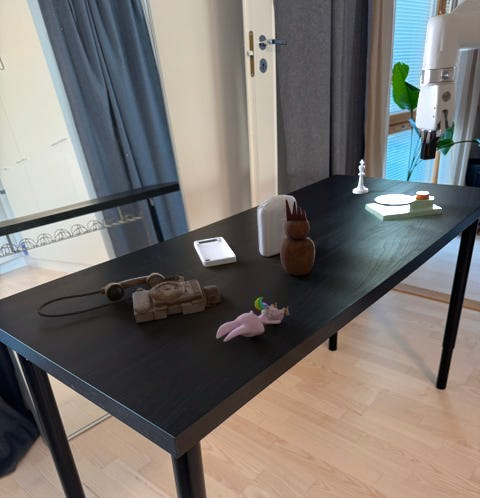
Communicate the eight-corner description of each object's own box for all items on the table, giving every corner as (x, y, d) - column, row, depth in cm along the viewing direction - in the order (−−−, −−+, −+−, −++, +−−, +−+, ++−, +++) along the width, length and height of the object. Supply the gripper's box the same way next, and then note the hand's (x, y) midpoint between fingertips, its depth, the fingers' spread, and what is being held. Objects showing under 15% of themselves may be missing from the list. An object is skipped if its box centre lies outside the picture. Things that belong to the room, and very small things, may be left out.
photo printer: (286, 241, 101) (285, 190, 95) (300, 245, 98) (299, 192, 92) (256, 254, 96) (252, 200, 90) (269, 258, 93) (266, 203, 87)
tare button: (424, 197, 115) (425, 190, 114) (430, 200, 112) (431, 193, 111) (413, 198, 115) (414, 192, 114) (419, 201, 112) (420, 194, 111)
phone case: (236, 261, 93) (222, 241, 106) (236, 256, 92) (221, 236, 105) (204, 267, 92) (194, 246, 104) (203, 262, 91) (193, 241, 104)
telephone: (43, 304, 82) (36, 285, 80) (208, 275, 88) (205, 256, 85) (31, 347, 69) (22, 326, 67) (224, 309, 75) (221, 289, 73)
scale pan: (403, 195, 117) (403, 192, 117) (420, 203, 109) (421, 201, 108) (368, 199, 117) (369, 197, 116) (384, 208, 108) (384, 206, 108)
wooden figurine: (276, 275, 85) (272, 202, 77) (288, 265, 89) (286, 194, 81) (307, 280, 81) (306, 204, 74) (318, 269, 85) (319, 196, 78)
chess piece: (359, 194, 133) (360, 161, 128) (349, 192, 137) (350, 160, 132) (371, 191, 135) (373, 159, 130) (361, 189, 139) (363, 157, 134)
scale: (420, 202, 120) (421, 191, 119) (443, 213, 110) (445, 201, 108) (365, 209, 119) (365, 198, 117) (382, 221, 109) (383, 209, 107)
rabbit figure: (267, 316, 73) (205, 343, 63) (268, 284, 71) (205, 306, 61) (296, 326, 69) (235, 357, 59) (299, 293, 67) (236, 318, 57)
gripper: (472, 75, 93) (457, 162, 102) (436, 76, 106) (426, 153, 115) (440, 78, 92) (428, 165, 101) (407, 79, 105) (400, 156, 114)
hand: (427, 158), depth 108 cm, fingers closed
